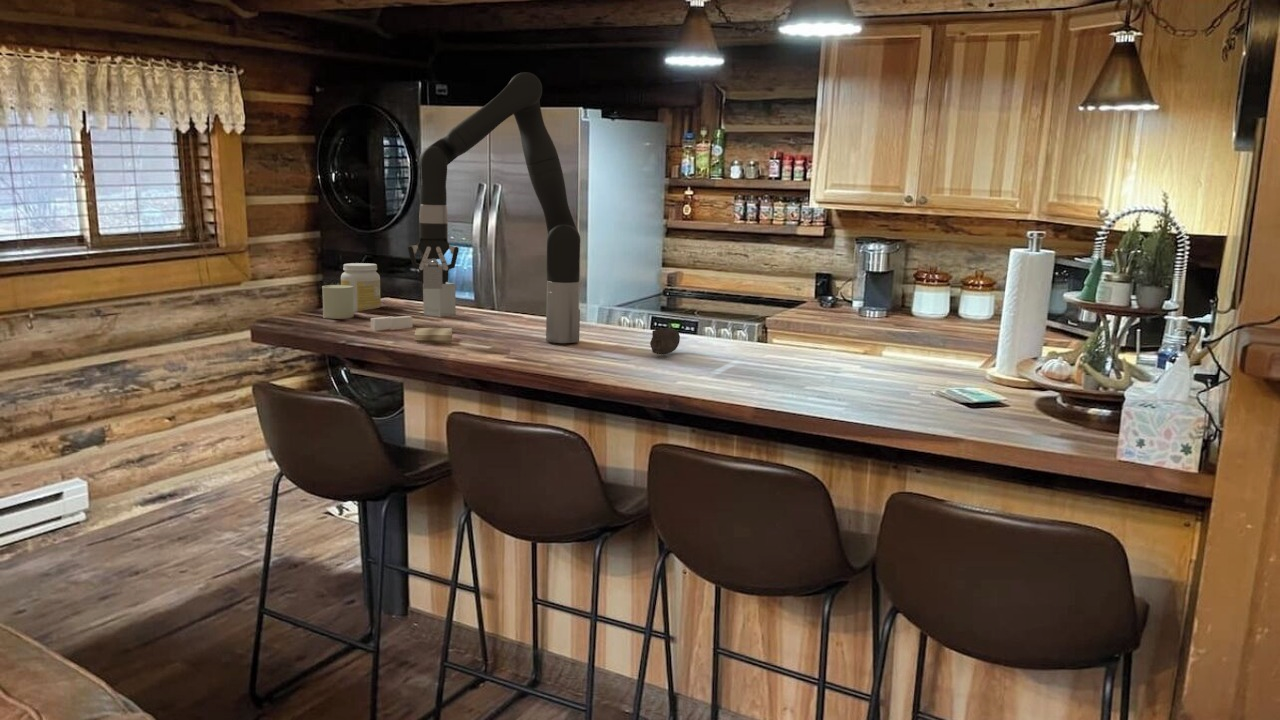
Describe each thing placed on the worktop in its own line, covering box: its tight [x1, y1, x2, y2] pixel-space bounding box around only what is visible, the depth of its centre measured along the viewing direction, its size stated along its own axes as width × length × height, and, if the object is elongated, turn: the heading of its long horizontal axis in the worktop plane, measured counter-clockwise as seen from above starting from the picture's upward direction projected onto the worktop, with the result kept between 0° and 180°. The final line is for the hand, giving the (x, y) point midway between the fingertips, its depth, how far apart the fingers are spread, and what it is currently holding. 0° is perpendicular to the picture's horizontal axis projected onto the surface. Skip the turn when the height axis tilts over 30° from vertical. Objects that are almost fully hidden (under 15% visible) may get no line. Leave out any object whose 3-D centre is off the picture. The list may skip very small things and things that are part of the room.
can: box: [321, 284, 355, 320], centre depth 289 cm, size 9×9×12 cm
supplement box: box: [422, 282, 457, 318], centre depth 299 cm, size 7×7×13 cm
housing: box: [422, 260, 444, 290], centre depth 263 cm, size 5×9×7 cm, turn 8°
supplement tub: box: [340, 262, 382, 313], centre depth 307 cm, size 12×12×17 cm
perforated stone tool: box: [649, 327, 681, 355], centre depth 258 cm, size 15×5×7 cm, turn 153°
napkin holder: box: [370, 315, 413, 332], centre depth 274 cm, size 15×11×6 cm
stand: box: [413, 327, 453, 345], centre depth 266 cm, size 10×13×2 cm
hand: (433, 283), depth 263 cm, fingers closed on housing, 5 cm apart
